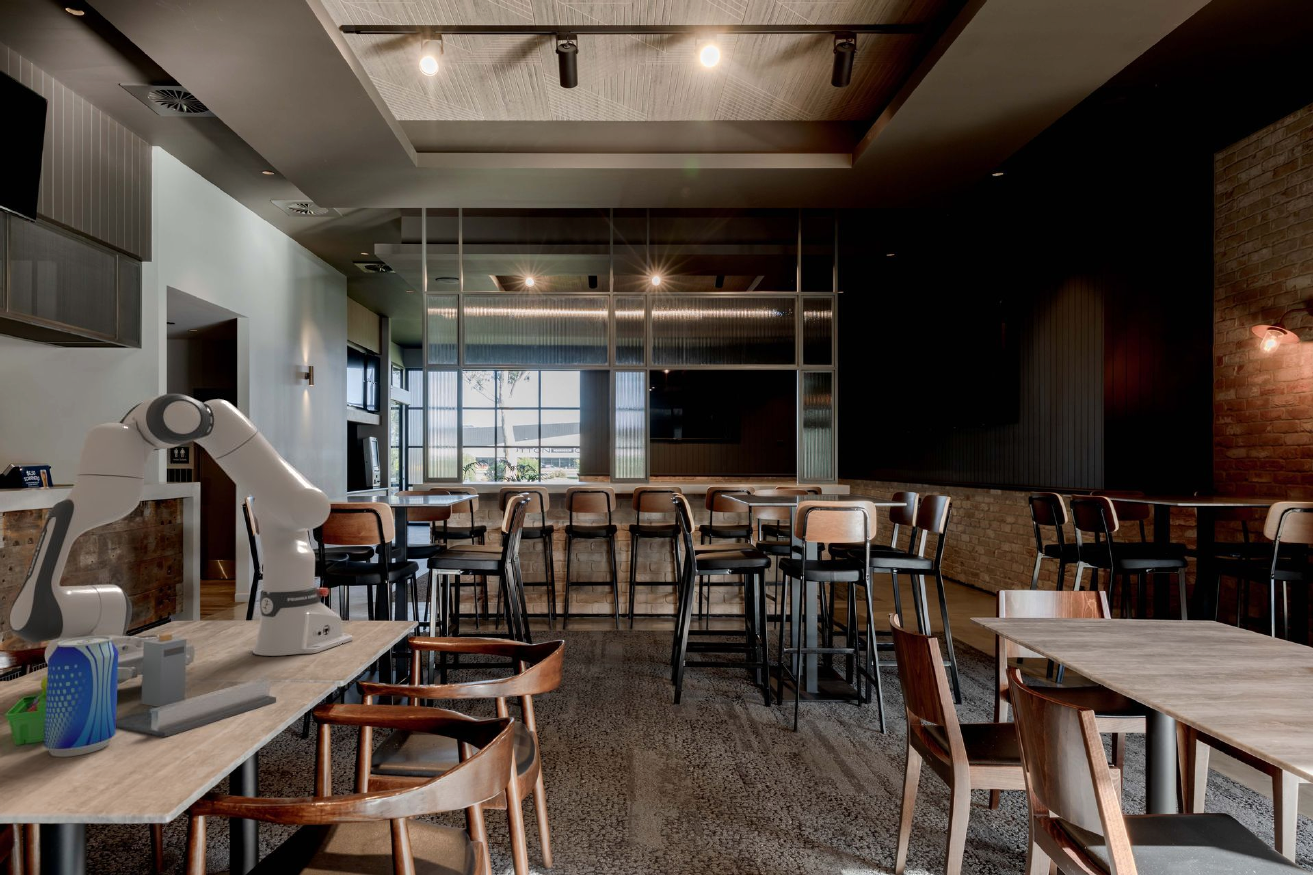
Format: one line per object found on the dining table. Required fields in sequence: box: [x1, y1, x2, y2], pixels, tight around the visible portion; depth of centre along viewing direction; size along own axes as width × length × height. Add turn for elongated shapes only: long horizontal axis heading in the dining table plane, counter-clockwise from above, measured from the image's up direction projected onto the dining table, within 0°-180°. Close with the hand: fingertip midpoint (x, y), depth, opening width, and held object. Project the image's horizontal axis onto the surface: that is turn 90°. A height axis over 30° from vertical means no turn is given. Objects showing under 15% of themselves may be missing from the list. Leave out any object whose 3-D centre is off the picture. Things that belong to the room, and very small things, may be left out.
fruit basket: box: [4, 675, 47, 746], centre depth 117 cm, size 11×9×11 cm
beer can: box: [43, 636, 118, 758], centre depth 111 cm, size 8×8×16 cm
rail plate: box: [116, 678, 277, 738], centre depth 127 cm, size 20×14×4 cm
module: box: [141, 633, 188, 707], centre depth 134 cm, size 4×5×12 cm
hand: (160, 667), depth 134 cm, fingers open, 8 cm apart
